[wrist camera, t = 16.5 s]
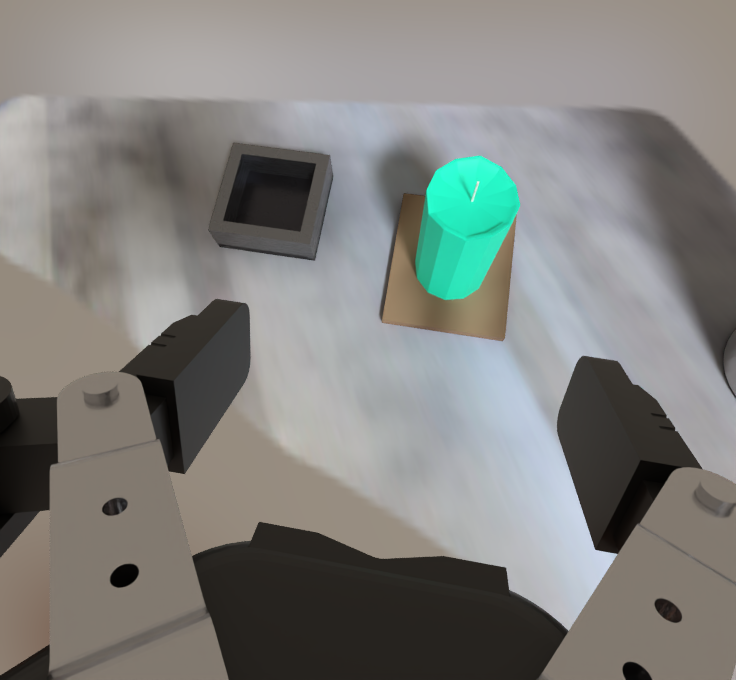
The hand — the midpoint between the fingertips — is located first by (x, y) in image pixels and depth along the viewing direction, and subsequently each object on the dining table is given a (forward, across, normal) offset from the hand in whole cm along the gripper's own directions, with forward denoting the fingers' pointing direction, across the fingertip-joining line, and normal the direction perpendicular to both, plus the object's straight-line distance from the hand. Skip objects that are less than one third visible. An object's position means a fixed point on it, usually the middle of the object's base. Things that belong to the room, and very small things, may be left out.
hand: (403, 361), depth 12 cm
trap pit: (+32, +13, +6) cm, 35 cm away
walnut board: (+30, -3, +8) cm, 31 cm away
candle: (+29, -3, +8) cm, 30 cm away
